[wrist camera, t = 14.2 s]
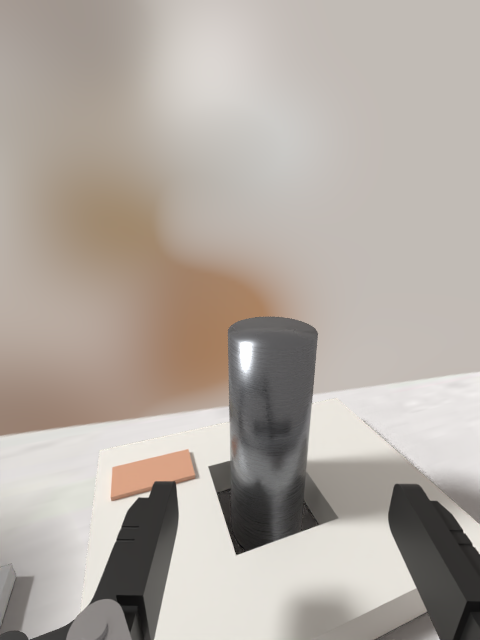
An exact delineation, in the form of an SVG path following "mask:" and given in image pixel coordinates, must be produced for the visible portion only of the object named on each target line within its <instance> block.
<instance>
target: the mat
mask: <svg viewBox="0 0 480 640" xmlns="http://www.w3.org/2000/svg"><path fill="white" fill-rule="evenodd" d="M15 578H16V574H15V571H14V569H13V566H12V563H11V564H8V565H4V566H1V567H0V627H1V624H2V620H3V617H4V614H5V611H6V607H7V604H8V601H9V598H10V594H11V591H12V588H13V585H14V582H15Z"/></svg>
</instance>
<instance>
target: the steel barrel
mask: <svg viewBox="0 0 480 640" xmlns="http://www.w3.org/2000/svg"><path fill="white" fill-rule="evenodd" d="M317 336H318V333H317V331H316V329H315V328H314V327H312V326H311V325H309V324H307V323H304V322H302V321H298V320H295V319H290V318H283V317H255V318H249V319H245V320H241V321H238V322H236V323H235V324H233V325H231V326H230V328H229V329H228V354H229V355H228V357H229V415H230V471H231V524H232V530H233V534H234V536H235V538H236V540H237V542H238V543H239V544H240V545H241V546H242V547H243V548H244V549H245V550H246V551H250V550H252V549H255V548H258V547H261V546H263V545H266V544H269V543H272V542H274V541H277V540H280V539H283V538H286V537H288V536H291V535H294V534H297V533H299V532H301V525H302V513H303V502H304V490H305V478H306V467H307V455H308V443H309V432H310V420H311V408H312V396H313V385H314V373H315V361H316V349H317V338H318V337H317Z"/></svg>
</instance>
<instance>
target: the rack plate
mask: <svg viewBox="0 0 480 640" xmlns="http://www.w3.org/2000/svg"><path fill="white" fill-rule="evenodd" d="M155 481H175V482H176V488H177V498H178V509H179V520H178V529H177V534H176V539H175V543H174V548H173V553H172V558H171V562H170V567H169V572H168V576H167V581H166V586H165V591H164V595H163V600H162V605H161V609H160V614H159V619H158V624H157V628H156V633H155V638H154V640H375V639H376V638H378V637H380V636H382V635H384V634H386V633H388V632H390V631H392V630H394V629H395V628H397V627H399V626H401V625H403V624H405V623H407V622H409V621H411V620H413V619H414V618H416V617H418V616H420V615H422V614H424V613H426V612H427V610H426V608H425V605H424V603H423V601H422V599H421V597H420V594H419V592H418V590H417V588H416V586H415V584H414V581H413V579H412V577H411V575H410V573H409V570H408V568H407V566H406V564H405V562H404V560H403V557H402V555H401V553H400V551H399V549H398V547H397V544H396V542H395V540H394V538H393V536H392V533H391V530H390V527H389V522H388V512H389V507H390V502H391V497H392V493H393V488H394V485H395V484H418V485H420V486H421V487H422V489H423V490H424V492H425V493H426V495H427V496H428V498H429V500H430V501H438V502H439V503H440V504H441V505H442V506H443V507H445V508H446V509H447V510H448V511H449V512H450V513H451V514H452V515H453V516H454V518H455V519H456V520H457V522H458V523H459V525H460V526H461V528H462V529H463V532H464V533H466V535H467V536H468V538H469V539H470V541H471V542H472V545H473V547H475V548H476V549H477V551H478V552H479V554H480V524H479V523H478V522H476V521H475V520H474V519H473V518H472V517H471V516H470V515H469V514H467V513H466V512H465V511H464V510H463V509H462V508H461V507H460V506H458V505H457V504H456V503H455V502H454V501H453V500H452V499H450V498H449V497H448V496H447V495H446V494H445V493H444V492H443V491H441V490H440V489H439V488H438V487H437V486H436V485H435V484H434V483H432V482H431V481H430V480H429V479H428V478H427V477H426V476H425V475H423V474H422V473H421V472H420V471H419V470H418V469H417V468H415V467H414V466H413V465H412V464H411V463H410V462H409V461H408V460H406V459H405V458H404V457H403V456H402V455H401V454H400V453H399V452H397V451H396V450H395V449H394V448H393V447H392V446H391V445H390V444H388V443H387V442H386V441H385V440H384V439H383V438H382V437H380V436H379V435H378V434H377V433H376V432H375V431H374V430H373V429H371V428H370V427H369V426H368V425H367V424H366V423H365V422H364V421H362V420H361V419H360V418H359V417H358V416H357V415H356V414H354V413H353V412H352V411H351V410H350V409H349V408H348V407H347V406H345V405H344V404H343V403H342V402H341V401H340V400H339V399H338V398H334V399H329V400H325V401H320V402H316V403H312V408H311V420H310V432H309V443H308V455H307V467H306V478H305V490H304V501H305V502H306V504H307V506H308V507H309V509H310V511H311V512H312V514H313V516H314V517H315V519H316V520H317V522H318V524H319V526H316V527H313V528H310V529H308V530H305V531H302V532H299V533H297V534H294V535H291V536H288V537H286V538H283V539H280V540H277V541H274V542H272V543H269V544H266V545H263V546H261V547H258V548H255V549H252V550H250V551H247V552H244V553H241V554H239V555H236V553H235V550H234V547H233V544H232V541H231V538H230V534H229V531H228V528H227V525H226V522H225V519H224V515H223V512H222V509H221V506H220V503H219V500H218V496H217V492H220V491H224V490H227V489H231V471H230V422H225V423H221V424H216V425H212V426H207V427H203V428H198V429H194V430H189V431H185V432H180V433H176V434H171V435H167V436H162V437H158V438H153V439H149V440H144V441H140V442H135V443H130V444H126V445H121V446H117V447H112V448H108V449H103V450H99V459H98V467H97V475H96V484H95V492H94V500H93V509H92V517H91V525H90V534H89V542H88V550H87V559H86V567H85V575H84V583H83V592H82V600H81V608H80V613H81V612H82V611H83V610H84V609H85V608H86V607H87V606H88V605H89V603H90V602H91V600H92V598H93V596H94V594H95V592H96V589H97V587H98V584H99V582H100V579H101V577H102V574H103V572H104V569H105V567H106V564H107V561H108V559H109V556H110V554H111V551H112V549H113V546H114V544H115V542H116V539H117V536H118V533H119V531H120V529H121V526H122V523H123V521H124V518H125V516H126V513H127V511H128V509H129V508H130V507H131V506H132V505H133V503H134V502H135V501H136V500H137V499H138V497H141V498H149V495H150V492H151V489H152V486H153V484H154V482H155Z"/></svg>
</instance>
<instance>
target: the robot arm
mask: <svg viewBox="0 0 480 640" xmlns="http://www.w3.org/2000/svg"><path fill="white" fill-rule="evenodd" d="M178 520H179V509H178V498H177V488H176V482H175V481H155V482H154V484H153V486H152V489H151V492H150V495H149V498H141V497H138V499H137V500H136V501H135V502H134V503H133V505H132V506H131V507H130V508H129V509H128V511H127V513H126V516H125V518H124V521H123V523H122V526H121V529H120V531H119V533H118V536H117V539H116V542H115V544H114V546H113V549H112V551H111V554H110V556H109V559H108V561H107V564H106V567H105V569H104V572H103V574H102V577H101V579H100V582H99V584H98V587H97V589H96V592H95V594H94V596H93V598H92V600H91V602H90V603H89V605H88V606H87V607H86V608H85V609H84V610H83V611H82V612H81V613H80V614H79V615H78V616H77V617H76V619H75V620H73V621H72V622H71V623H69V624H67V625H66V626H64V627H62V628H59V629H57V630H54V631H52V632H49V633H46V634H44V635H41V636H38V637H36V638H33V639H30V640H154V638H155V633H156V628H157V624H158V619H159V614H160V609H161V605H162V600H163V595H164V591H165V586H166V581H167V576H168V572H169V567H170V562H171V558H172V553H173V548H174V543H175V539H176V534H177V529H178ZM388 522H389V527H390V530H391V533H392V536H393V538H394V540H395V542H396V544H397V547H398V549H399V551H400V553H401V555H402V557H403V560H404V562H405V564H406V566H407V568H408V570H409V573H410V575H411V577H412V579H413V581H414V584H415V586H416V588H417V590H418V592H419V594H420V597H421V599H422V601H423V603H424V605H425V608H426V610H427V612H428V614H429V616H430V618H431V621H432V623H433V625H434V627H435V629H436V631H437V634H438V636H439V638H440V640H480V554H479V552H478V551H477V549H476V548H475V547H473V545H472V542H471V541H470V539H469V538H468V536H467V535H466V533H464V532H463V529H462V528H461V526H460V525H459V523H458V522H457V520H456V519H455V518H454V516H453V515H452V514H451V513H450V512H449V511H448V510H447V509H446V508H445V507H443V506H442V505H441V504H440V503H439V502H438V501H430V500H429V498H428V496H427V495H426V493H425V492H424V490H423V489H422V487H421V486H420V485H418V484H395V485H394V488H393V493H392V497H391V502H390V507H389V512H388ZM0 640H28V637H27V636H26V635H25V634H24V633H23V632H20V631H9V632H6V633H3V634H1V635H0Z"/></svg>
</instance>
